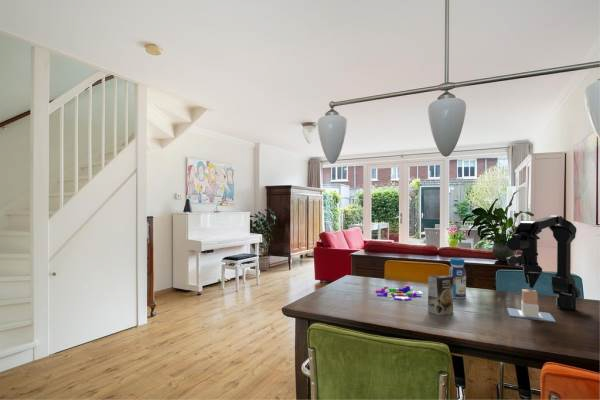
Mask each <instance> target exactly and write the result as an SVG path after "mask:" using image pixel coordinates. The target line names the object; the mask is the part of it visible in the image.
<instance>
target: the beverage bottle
mask: <svg viewBox="0 0 600 400" xmlns="http://www.w3.org/2000/svg"><path fill="white" fill-rule="evenodd" d="M449 265H451V266H450V267H449V269H448V273H449V274H448V276H451V277H453V299H458V300H459V299H461V300H463V299H466V298H467V275H466V274H467V271H466V269H465V267H464V266H465V259H464V258H461V257H451V258H450V260H449Z"/></svg>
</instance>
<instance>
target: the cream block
mask: <svg viewBox="0 0 600 400" xmlns="http://www.w3.org/2000/svg"><path fill="white" fill-rule="evenodd" d="M539 307H540V306H539V304H538V305H536V304H527V303H523V301H522V299H521V300H520V308H521V309H520V310H521V312H522V314H523V315H529V316H537V317H539V312H540V311H539Z"/></svg>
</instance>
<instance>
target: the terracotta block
mask: <svg viewBox="0 0 600 400" xmlns="http://www.w3.org/2000/svg"><path fill="white" fill-rule="evenodd" d="M538 294H539V293H538V292H537V290H535V289H534V290H533V289H527V288H524V289H523V288H522V289H521V300H522V301H523V303H527V304H536V305H539V303H538V302H539V301H538V300H539V299H538V298H539V297H538Z"/></svg>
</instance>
